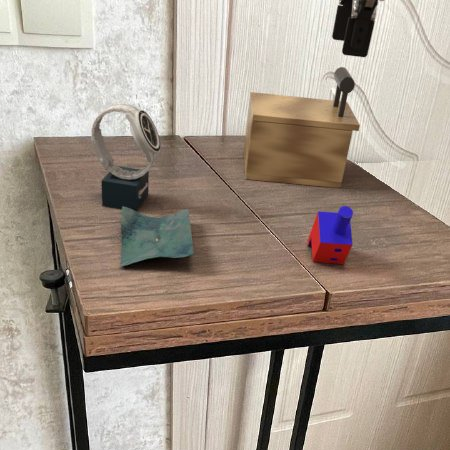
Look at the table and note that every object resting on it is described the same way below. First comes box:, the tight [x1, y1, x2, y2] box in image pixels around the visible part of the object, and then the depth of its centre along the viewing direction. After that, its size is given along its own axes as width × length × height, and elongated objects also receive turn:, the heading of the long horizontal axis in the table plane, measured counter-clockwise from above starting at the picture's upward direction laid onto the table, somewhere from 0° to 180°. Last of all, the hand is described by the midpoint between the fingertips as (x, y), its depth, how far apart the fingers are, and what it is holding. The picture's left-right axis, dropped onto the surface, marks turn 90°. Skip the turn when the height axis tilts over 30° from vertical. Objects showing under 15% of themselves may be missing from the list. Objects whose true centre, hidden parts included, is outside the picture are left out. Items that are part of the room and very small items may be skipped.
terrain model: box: [119, 206, 195, 267], centre depth 70 cm, size 13×8×2 cm, turn 5°
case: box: [243, 98, 353, 189], centre depth 90 cm, size 14×12×8 cm
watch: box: [90, 103, 162, 212], centre depth 75 cm, size 6×8×11 cm
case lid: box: [249, 66, 361, 132], centre depth 86 cm, size 14×12×6 cm
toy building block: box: [306, 205, 354, 265], centre depth 69 cm, size 4×4×8 cm
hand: (348, 47), depth 83 cm, fingers open, 9 cm apart
